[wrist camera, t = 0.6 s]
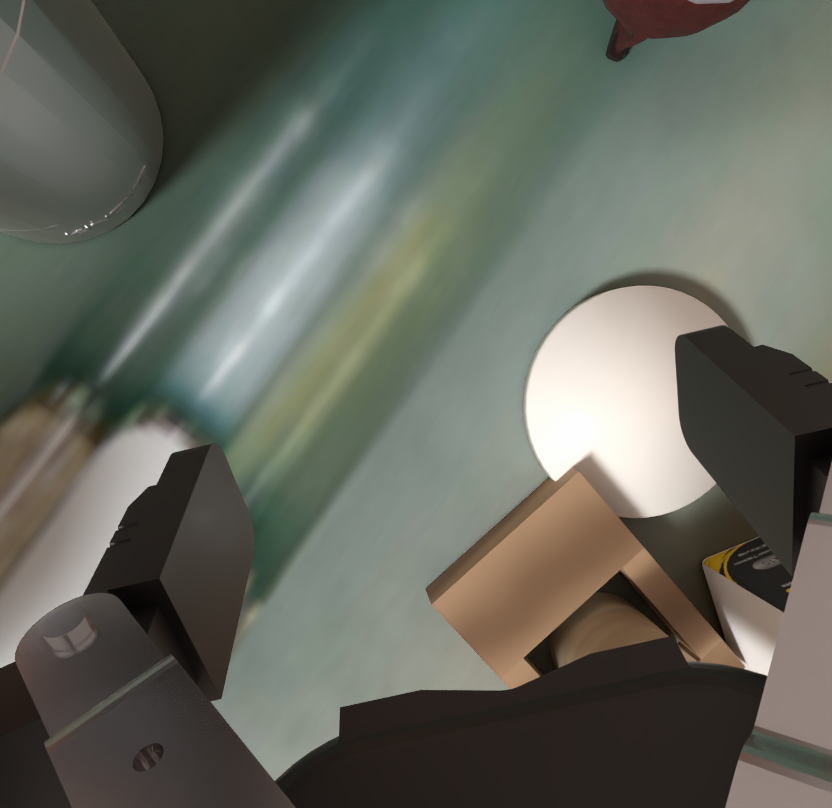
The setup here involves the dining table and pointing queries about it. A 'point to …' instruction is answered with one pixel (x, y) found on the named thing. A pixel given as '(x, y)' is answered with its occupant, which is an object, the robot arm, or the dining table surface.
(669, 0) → the mate gourd
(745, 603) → the medicine bottle
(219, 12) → the dining table surface
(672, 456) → the saucer
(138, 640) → the robot arm
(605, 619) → the pepper mill
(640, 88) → the dining table surface
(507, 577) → the frame
